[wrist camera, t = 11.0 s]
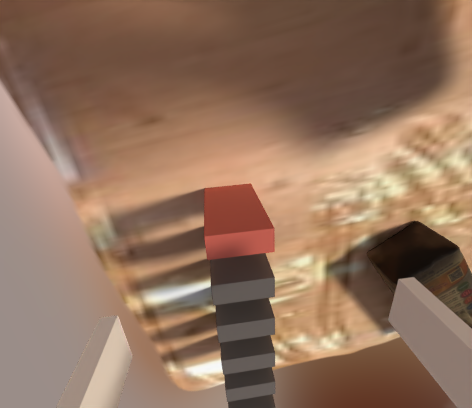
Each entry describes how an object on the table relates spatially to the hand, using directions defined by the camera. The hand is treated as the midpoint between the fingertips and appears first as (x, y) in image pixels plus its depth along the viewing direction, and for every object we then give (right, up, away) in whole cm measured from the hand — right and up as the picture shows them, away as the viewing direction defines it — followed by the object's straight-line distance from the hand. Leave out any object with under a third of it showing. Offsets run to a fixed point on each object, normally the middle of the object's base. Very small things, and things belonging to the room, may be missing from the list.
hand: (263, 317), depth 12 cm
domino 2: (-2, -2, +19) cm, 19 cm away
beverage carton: (+24, -5, +24) cm, 35 cm away
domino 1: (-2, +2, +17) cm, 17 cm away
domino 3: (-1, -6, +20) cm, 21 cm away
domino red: (-2, +6, +15) cm, 17 cm away
